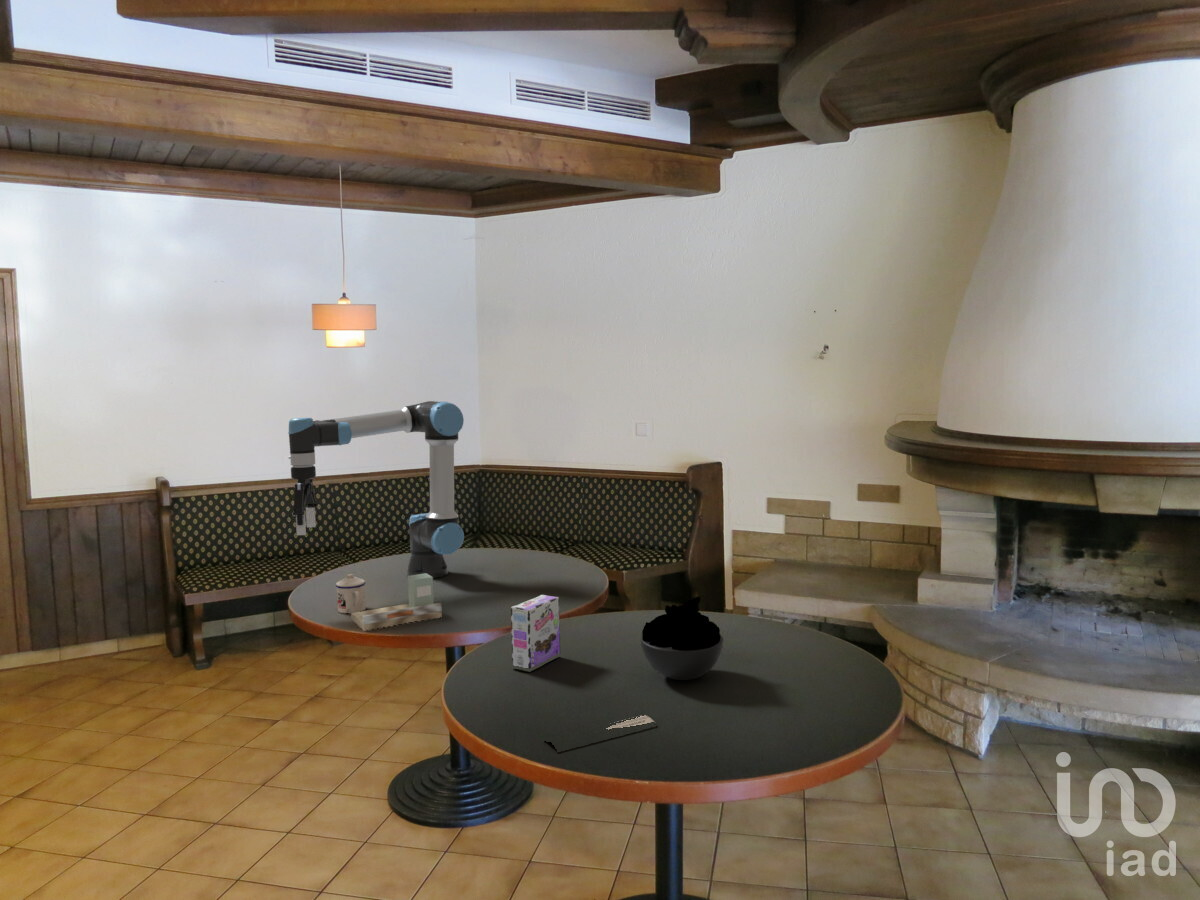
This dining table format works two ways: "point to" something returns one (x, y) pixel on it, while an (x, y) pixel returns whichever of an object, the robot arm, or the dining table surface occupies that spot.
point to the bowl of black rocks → (682, 642)
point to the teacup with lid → (351, 594)
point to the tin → (420, 590)
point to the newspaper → (632, 722)
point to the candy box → (535, 631)
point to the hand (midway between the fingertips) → (306, 531)
